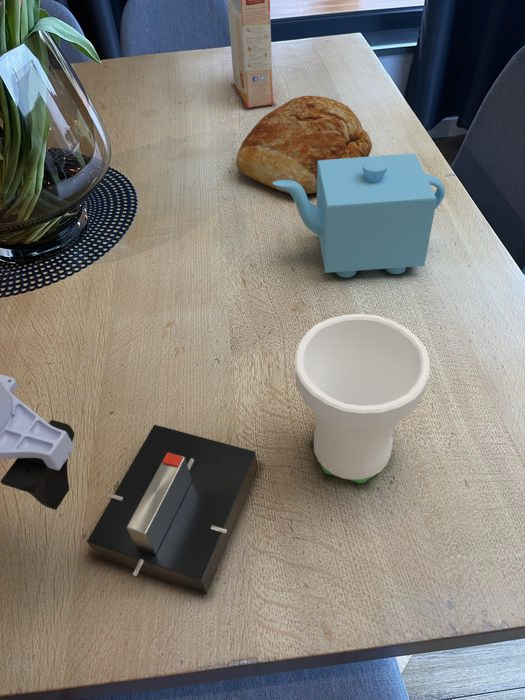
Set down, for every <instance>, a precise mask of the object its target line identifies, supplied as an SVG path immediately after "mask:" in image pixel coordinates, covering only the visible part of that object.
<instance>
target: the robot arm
mask: <svg viewBox="0 0 525 700" xmlns="http://www.w3.org/2000/svg"><path fill="white" fill-rule="evenodd" d="M18 387H19V385H18V382H17V380H16V379H15V378H14V377H12V376H8V375H5V374H1V373H0V460H5V459H6V460H7V459H9V460H10V459H15V461H14V462H13V464H12V465H11V466H10V468H9V469H8V470H7V471H6V472H5V474H4V475H3V477H2V478H1V480H0V483H1V484H2V485H3V486H7V487H10V488H13V489H16V490H19V491H23V492H25V493H28V494H29V495H31V496H32V497H33V498H34V499H35V500H36V501H37V502H38V503H40V504H41V505H42V506H44V507H46V508H49V509H51V510H58V509H59V507H60V505H61V504H62V502H63V501H64V499H65V497H66V496H67V494H68V492H69V491H70V484H69V475H68V474H69V473H68V462H69V461H68V460H69V457H70V455H71V454H72V452H74V449H75V445H74V443H73V441H74V438H75V434H76V433H75V431H74V430H73V428H72V426H71V425H70V424H69V423H65V422H62V421H58V420H55V419H50V420H49V422H48V421H46V420H45V419H44V418H42V417H41V416H40V415H38V414H37V413H36V412H35V411H34V410H33V409H31V408H30V407H29V406H28V405H27V404H25V403H24V402H23V401H22V400H20V398H19V397H17V396H16V395H14V393H15V391H16V390H17V389H18Z"/></svg>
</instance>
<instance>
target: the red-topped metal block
mask: <svg viewBox="0 0 525 700" xmlns="http://www.w3.org/2000/svg"><path fill="white" fill-rule="evenodd" d="M191 481H192V479H191V476H190V472H189V469H188V465H187V462H186V458H185V457H183V456H179V455H176V454H172V453H169V452H167V454H166V456H165V457H164V459H163V461H162V463H161V465H160V467H159V469H158V470H157V472H156V474H155V476H154V478H153V480H152V481H151V483H150V485H149V487H148V489H147V491H146V492H145V494H144V496H143V498H142V500H141V502H140V503H139V505H138V507H137V509H136V511H135V513H134V514H133V516H132V518H131V520H130V522H129V524H128V525H127V530H128V532H129V534H130V536H131V537H132V539H133V541H134V543H135V545H136V547H137V549H140V550H143V551H146V552H149V553H152V554H156V552H157V550H158V548H159V546H160V544H161V542H162V540H163V538H164V536H165V534H166V532H167V530H168V528H169V526H170V524H171V522H172V520H173V518H174V516H175V514H176V512H177V510H178V508H179V506H180V503H181V501H182V499H183V497H184V495H185V493H186V491H187V489H188V487H189V485H190V483H191Z"/></svg>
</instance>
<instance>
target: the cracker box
mask: <svg viewBox="0 0 525 700" xmlns="http://www.w3.org/2000/svg"><path fill="white" fill-rule="evenodd" d="M226 4H227V17H228V25H229V26H228V28H229V40H230V53H231V65H232V77H233V78H232V79H233V85H234V87H235V89H236V90H237V91H238V94H239V96H240V99H242V101H243V104H244V105H245V107H246V108H247V109H251V108H258V107H265V106H266V107H267V106H271V105H274V92H273V87H274V86H273V59H272V58H273V57H272V32H271V31H272V29H271V0H226ZM234 81H235V82H234ZM235 83H236V84H235Z"/></svg>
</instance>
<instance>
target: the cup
mask: <svg viewBox="0 0 525 700" xmlns="http://www.w3.org/2000/svg"><path fill="white" fill-rule="evenodd" d="M294 375H295V387H296V389H297V391H298V393H299V395H300V397H301V399H302V400H303V402H304V403H305V404H306V405H307V407H309V409H310V410H311V411H312V413H313V415H314V419H315V424H316V425H315V429H314V434H313V453H314V454H315V456H316V459H317V461H318V463H319V465H320V466H321V469H322V470H323V472H324V473H325V474H326V475H331V476H335V477H339V479H345V480H349V481H352V482H355V483H357V484H364V483H365V482H367V481H368V480H370V479H372V478H373V477H375V475H377V474H380V473H382V471H383V470H384V468H385V467H386V466H388V464H389V462H390V458H391V455H392V451H393V440H394V437H393V434H394V430H395V429H396V427H397V425H398V424H399V423H400V422H401V421H402V420H403V421H404V419H406V418H408V417H409V416H411V415H412V413H413V412H414V411H415V410H416V409H417V407H418V406H419V405H420V403H421V401H422V399H423V397H424V394H425V393H426V389H427V386H428V382H429V379H430V375H431V360H430V357H429V352H428V349H427V348H426V346H425V345H424V344H423V342H422V341H421V340H420V338H419V337H418V336H417V335H416V334H414V333H413V332H412V331H411V330H409V329H408V328H407V327H405V326H404V325H401V324H400V323H398V322H396V321H394V320H392V319H388V318H386V317H383V316H380V315H378V314H366V313H352V314H342V315H337V316H335V317H331V318H327V319H325V320H322V321H320V322H318V323H316V324H315V325H313V326H312V327H311V328H310V329H309V330H308V331H307V332H306V333H304V335H303V336H302V338H301V339H300V341H299V342H298V344H297V347H296V351H295V354H294Z"/></svg>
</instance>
